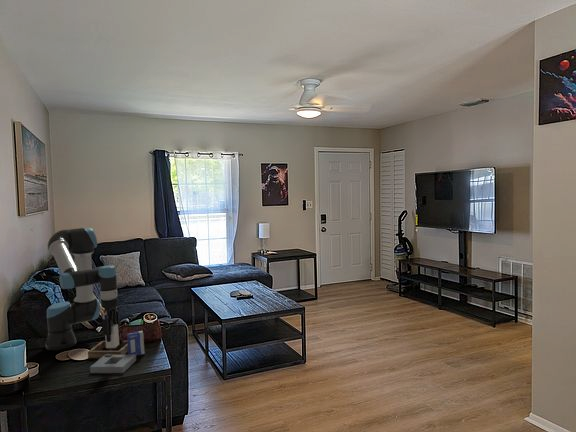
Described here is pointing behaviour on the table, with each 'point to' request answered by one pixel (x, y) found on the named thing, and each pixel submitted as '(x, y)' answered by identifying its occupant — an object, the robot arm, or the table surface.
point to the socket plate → (113, 363)
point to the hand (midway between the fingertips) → (112, 345)
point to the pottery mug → (121, 345)
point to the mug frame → (98, 353)
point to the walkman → (135, 343)
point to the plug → (114, 335)
